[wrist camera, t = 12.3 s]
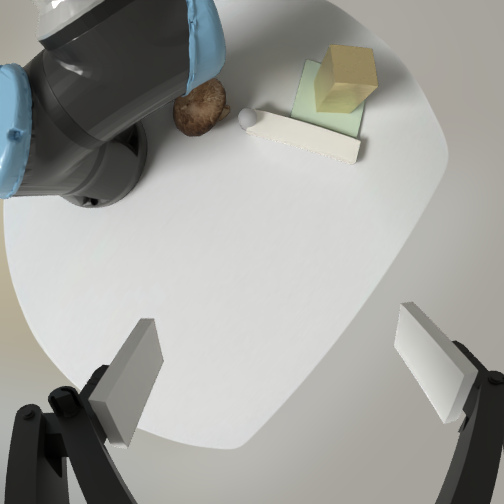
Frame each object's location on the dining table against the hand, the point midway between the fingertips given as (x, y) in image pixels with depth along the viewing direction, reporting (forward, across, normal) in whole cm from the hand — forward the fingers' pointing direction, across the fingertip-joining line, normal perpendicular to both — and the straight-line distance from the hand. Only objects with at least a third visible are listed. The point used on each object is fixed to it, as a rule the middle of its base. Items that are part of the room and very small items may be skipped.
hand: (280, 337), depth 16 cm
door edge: (+27, +6, +12) cm, 30 cm away
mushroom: (+28, -7, +16) cm, 33 cm away
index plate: (+27, +10, +17) cm, 34 cm away
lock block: (+27, +10, +17) cm, 33 cm away
